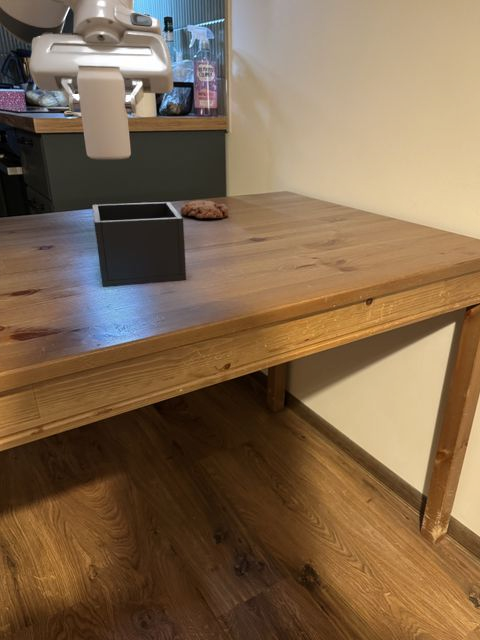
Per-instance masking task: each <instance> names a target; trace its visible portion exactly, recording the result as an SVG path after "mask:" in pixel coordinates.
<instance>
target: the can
mask: <svg viewBox="0 0 480 640" xmlns="http://www.w3.org/2000/svg"><path fill="white" fill-rule="evenodd" d="M78 67H79V72H78V76H77V86H78V91H77V94H79V101H80V109H81V112H80V117H81V123H82V130H83V131H82V132H83V136H84V145H85V152H86V156H87V157H89V159H91V160H95V161H96V160H98V161H117V160H118V161H119V160H127V159H129V158H130V157H131V155H132V152H131V151H132V150H131V139H130V126H129V116H128V113H127V112H126V109H125V95H126V92H125V86H124V79H123V77H122V75H121V73H120V71H119V69H120V67H113V66H78Z"/></svg>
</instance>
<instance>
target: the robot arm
mask: <svg viewBox="0 0 480 640" xmlns="http://www.w3.org/2000/svg"><path fill="white" fill-rule="evenodd" d="M134 5H135V4H134V0H0V24H1V25H2V28H4V29H5V30H6V31H7V33H8V34H10V35H11V36H12V37H13V38H15V39H16V40H17V41H19V42H21V43H24V44H26V45H30V46H31V54H30V59H29V67H28V68H29V73H30V75H31V78H32V80H33V83H34V84H35V86H36V87H37V88H38V89H39V90H40V91H44V92H63V93H64V95H65V97H66V98H67V100H68V105H69V109H70V111H71V113H81V109H80V101H79V94H78V93H76V92H78V86H77V76H78V72H79V67H78V66H113V67H120V69H119V71H120V73H121V75H122V77H123V79H124V86H125V93H130V94H128V95H127V94H125V109H126V112H127V114H137V105H138V104H139V103H140V102H141V101H142V100H143V98H144V97H145V95H144V94H169V93H170V92H171V91H172V90H173V89H174V76H173V65H172V59H171V52H170V49H169V46H168V43H167V41H166V39H165V38H164V36H163V29H162V25H161V22H160V20H159V19H158V18H156V17H153V16H150V15H147V14H144V13H141V12H137V11H135V10H134ZM70 9H71V10H72V12H73V31H72V32H63V29H64V26H65V23H66V17H67V15H68V12H69V10H70Z"/></svg>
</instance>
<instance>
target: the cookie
mask: <svg viewBox="0 0 480 640" xmlns="http://www.w3.org/2000/svg"><path fill="white" fill-rule="evenodd" d="M179 213H180V215H181V216H182V215H183V216H186V217H195V218H197V219H208V218H209V219H220V218H221V219H224V218H226V217H228V215H229V207H227V206H226V205H225V204H224V203H220V204H219V203H216V202H214V201H212V200H203V199H202V200H199V199H198V200H192V201H188V202H187V203H183V204H182V205H181V206H180V210H179Z"/></svg>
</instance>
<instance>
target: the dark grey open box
mask: <svg viewBox="0 0 480 640" xmlns="http://www.w3.org/2000/svg"><path fill="white" fill-rule="evenodd" d="M91 206H92V215H93V225H94V231H95V233H94V234H95V239H96V248H97V255H98V262H99V271H100V279H101V285H102V287H115V285H116V286H126V285H137V284H139V283H140V284H149V282H152V283H162V281H164V282H174V281H175V282H176V281H186V280H187V269H186V268H187V267H186V265H187V264H186V247H185V227H184V224H185V223H184V218H183V217H182V214H181V213H180V212H179V211H178V210H177V208H176V207H175V206H174V205H173V204H172V203H171V202H170V201H160V202H159V201H158V202H155V201H154V202H133V203H131V202H129V203H105V204H104V203H103V204H92V205H91Z"/></svg>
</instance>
